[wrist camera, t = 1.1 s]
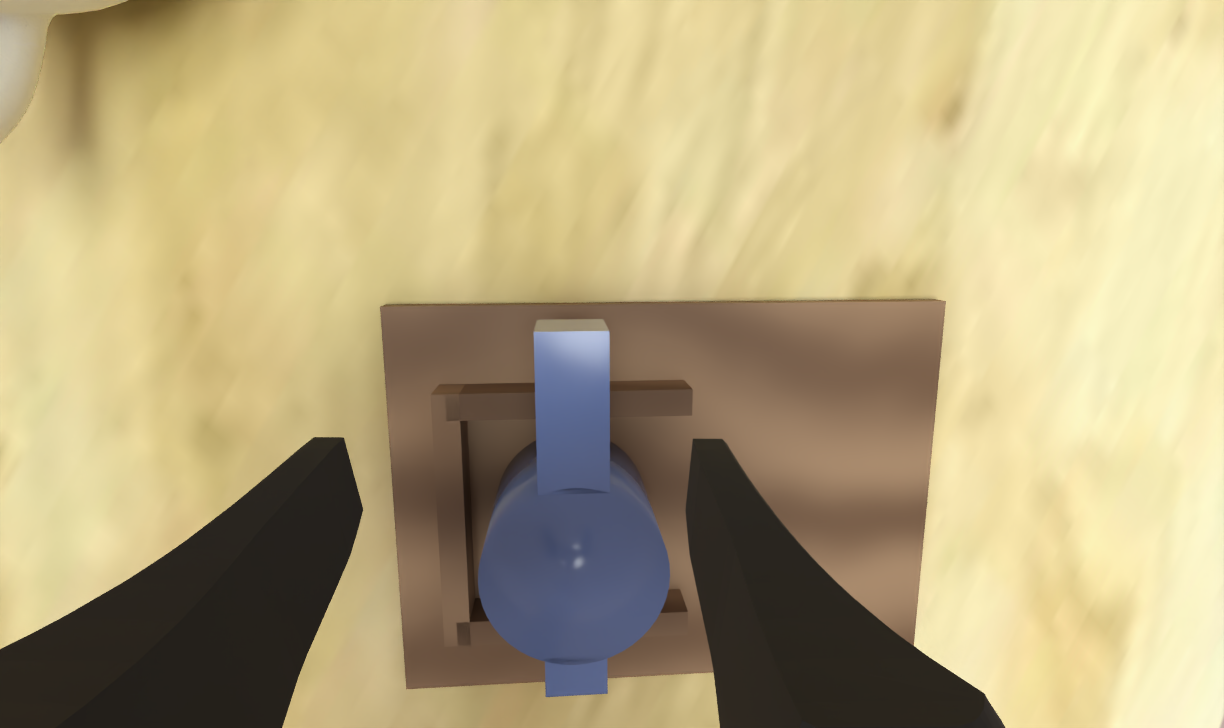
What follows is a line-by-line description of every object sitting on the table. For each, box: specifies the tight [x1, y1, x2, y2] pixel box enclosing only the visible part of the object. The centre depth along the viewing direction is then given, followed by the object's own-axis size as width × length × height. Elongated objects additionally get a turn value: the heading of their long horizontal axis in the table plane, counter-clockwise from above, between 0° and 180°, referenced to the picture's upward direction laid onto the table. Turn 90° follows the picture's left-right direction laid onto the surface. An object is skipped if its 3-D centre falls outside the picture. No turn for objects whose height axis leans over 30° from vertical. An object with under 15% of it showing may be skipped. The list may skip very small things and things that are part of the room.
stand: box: [380, 299, 946, 689], centre depth 26 cm, size 16×22×2 cm
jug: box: [478, 319, 670, 697], centre depth 23 cm, size 12×6×6 cm, turn 0°
